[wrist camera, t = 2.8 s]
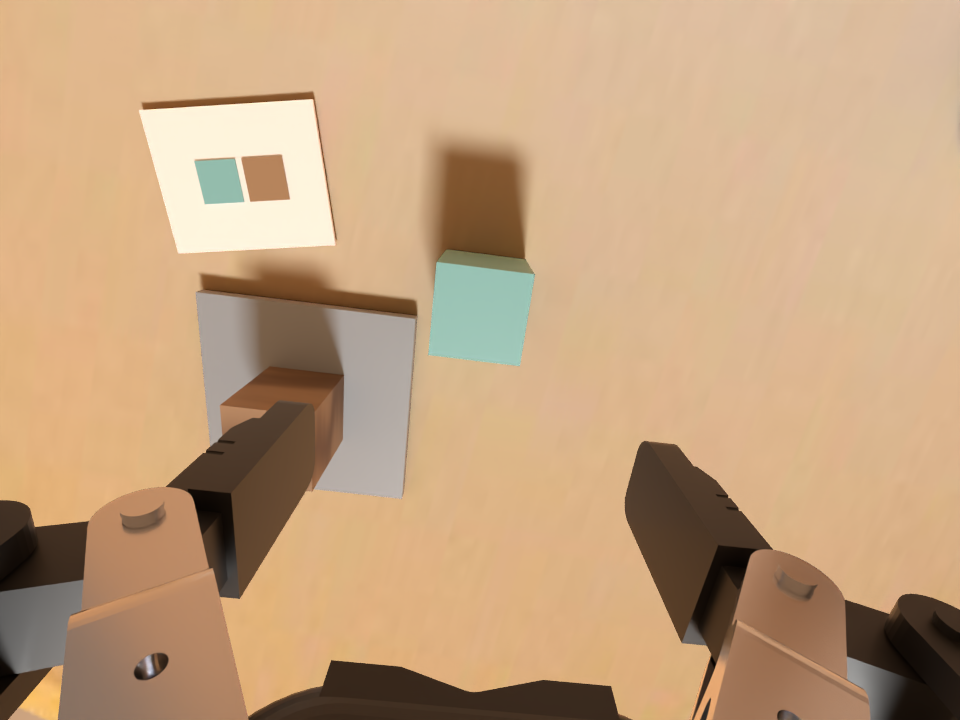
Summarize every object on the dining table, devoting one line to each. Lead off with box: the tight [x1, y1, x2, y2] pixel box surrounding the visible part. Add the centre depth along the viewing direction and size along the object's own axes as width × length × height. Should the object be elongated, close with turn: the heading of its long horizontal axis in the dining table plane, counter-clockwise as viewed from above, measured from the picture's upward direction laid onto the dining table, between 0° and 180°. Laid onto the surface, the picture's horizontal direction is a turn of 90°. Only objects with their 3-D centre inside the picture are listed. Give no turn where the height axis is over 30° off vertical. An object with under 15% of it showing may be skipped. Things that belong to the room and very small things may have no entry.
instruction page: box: [139, 99, 336, 254], centre depth 27 cm, size 8×10×1 cm
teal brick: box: [428, 249, 535, 366], centre depth 26 cm, size 5×5×6 cm
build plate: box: [196, 290, 417, 499], centre depth 31 cm, size 14×14×1 cm
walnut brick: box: [220, 366, 344, 492], centre depth 28 cm, size 5×5×6 cm
